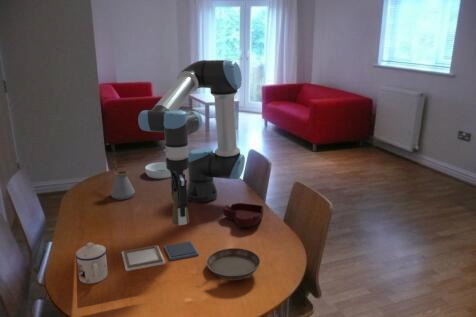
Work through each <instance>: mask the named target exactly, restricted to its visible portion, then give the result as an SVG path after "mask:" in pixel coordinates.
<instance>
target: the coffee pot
mask: <svg viewBox="0 0 476 317" xmlns="http://www.w3.org/2000/svg"><path fill="white" fill-rule="evenodd" d="M111 165H113V167H114V169H115V172H114V176H115V180H114V183H113V185H112V188H111V190H110V192H109V194H110V196H111V198H113V199H115V200H118V201H119V200H120V201H122V200H129V199H131V198H133V196H134V195H135V193H136V191H135V189H134V187H133V184H132V183H131V181H130V179H129V177H128V175H129V171H127V170H119V169H118V166H117V165H116V161H114V160H112V162H111Z"/></svg>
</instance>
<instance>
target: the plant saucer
mask: <svg viewBox="0 0 476 317" xmlns="http://www.w3.org/2000/svg"><path fill="white" fill-rule="evenodd" d="M260 265H261V258H260V256H259V255H258V254H257V253H256V252H254V251H251V250H250V249H245V248H240V247H239V248H237V247H236V248H235V247H234V248H233V247H231V248H224V249H221V250H217V251H215V252H213V253H211V254H210V255H209V256H208V257H207V259H206V266H207V268H208V269H209V270H210V272H212V274H214V275H215V276H217V277H218V278H220V279H223V280H228V281H229V280H231V281H234V280H235V281H236V280H237V281H238V280H244V279H245V278H248V277H250V276H252V275H253V274H254V273H255V272H256V271H257V270H258V268H259V267H260Z"/></svg>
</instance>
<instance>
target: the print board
mask: <svg viewBox="0 0 476 317" xmlns="http://www.w3.org/2000/svg"><path fill="white" fill-rule="evenodd" d="M121 256H122V260H123V265H124V268H125V272H130V271H135V270H139V269H140V270H141V269H144V268H145V269H146V268H150V267H157V266H161V265H166V260H165V258H164V255H163V254H162V251H161V249H160V247H159V245H149V246H143V247H138V248H132V249H126V250H123V251H121Z"/></svg>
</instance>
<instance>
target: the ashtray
mask: <svg viewBox="0 0 476 317" xmlns="http://www.w3.org/2000/svg"><path fill="white" fill-rule="evenodd" d="M222 213H223V215H224V217H226V219H228V218H229V220H234V222H235V223H236V224H237V225H238V227H240V229H243V230H244V229H245V230H246V229H248V228H249V227H250V228H251V227H253V226H256V225H257V224H259V223H260V221H261V220H262V218H263V216H264V206H263V205H260V204H254V203H253V204H252V203H243V202H241V203H240V202H236V203H232V204H231V205H230V206H229V205H227V204H225V205H224V206H223V209H222Z"/></svg>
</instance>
